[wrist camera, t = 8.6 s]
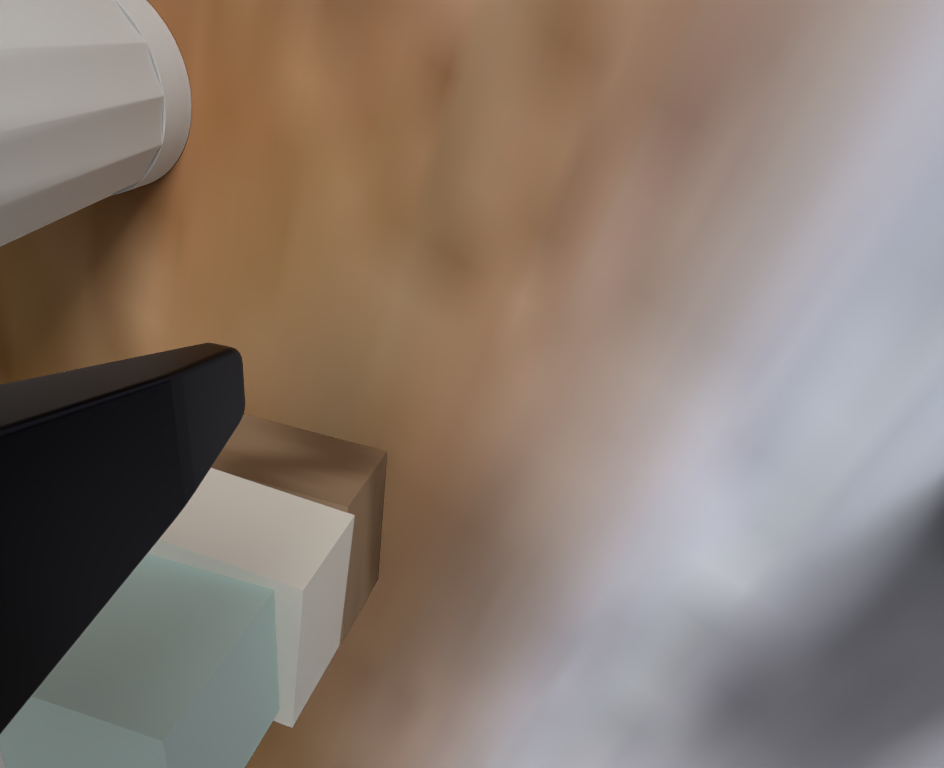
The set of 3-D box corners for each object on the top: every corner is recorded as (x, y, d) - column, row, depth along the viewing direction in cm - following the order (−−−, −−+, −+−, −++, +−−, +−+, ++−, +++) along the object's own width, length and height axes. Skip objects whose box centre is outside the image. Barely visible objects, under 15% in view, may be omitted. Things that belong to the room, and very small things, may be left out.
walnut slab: (389, 449, 27) (348, 507, 24) (379, 576, 30) (342, 641, 27) (236, 409, 28) (178, 459, 25) (241, 535, 31) (190, 594, 28)
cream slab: (354, 515, 24) (303, 590, 21) (339, 645, 27) (292, 728, 24) (185, 459, 25) (112, 523, 22) (188, 591, 28) (124, 663, 25)
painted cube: (274, 589, 21) (163, 741, 17) (279, 709, 24) (183, 868, 19) (118, 545, 22) (-24, 677, 18) (139, 664, 25) (17, 806, 20)
